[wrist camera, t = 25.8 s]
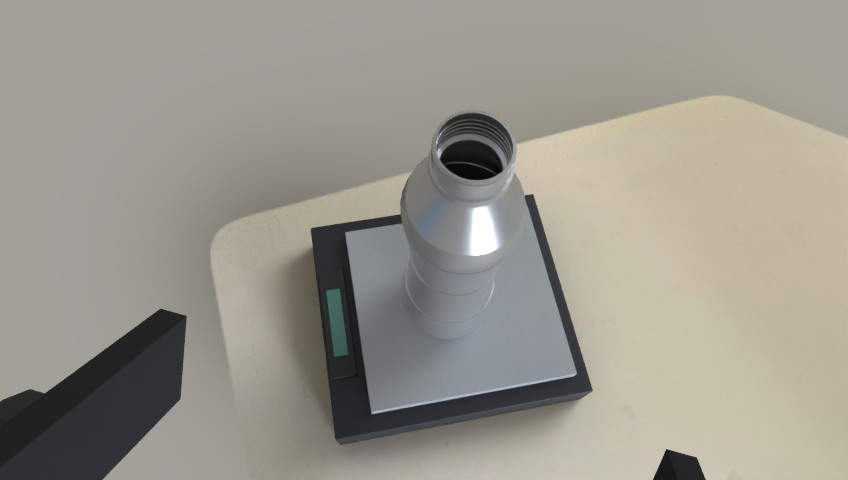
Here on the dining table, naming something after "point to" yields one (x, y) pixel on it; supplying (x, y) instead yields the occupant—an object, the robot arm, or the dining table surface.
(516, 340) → the scale
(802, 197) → the dining table surface
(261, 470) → the dining table surface
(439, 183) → the silver aluminium bottle
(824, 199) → the dining table surface
